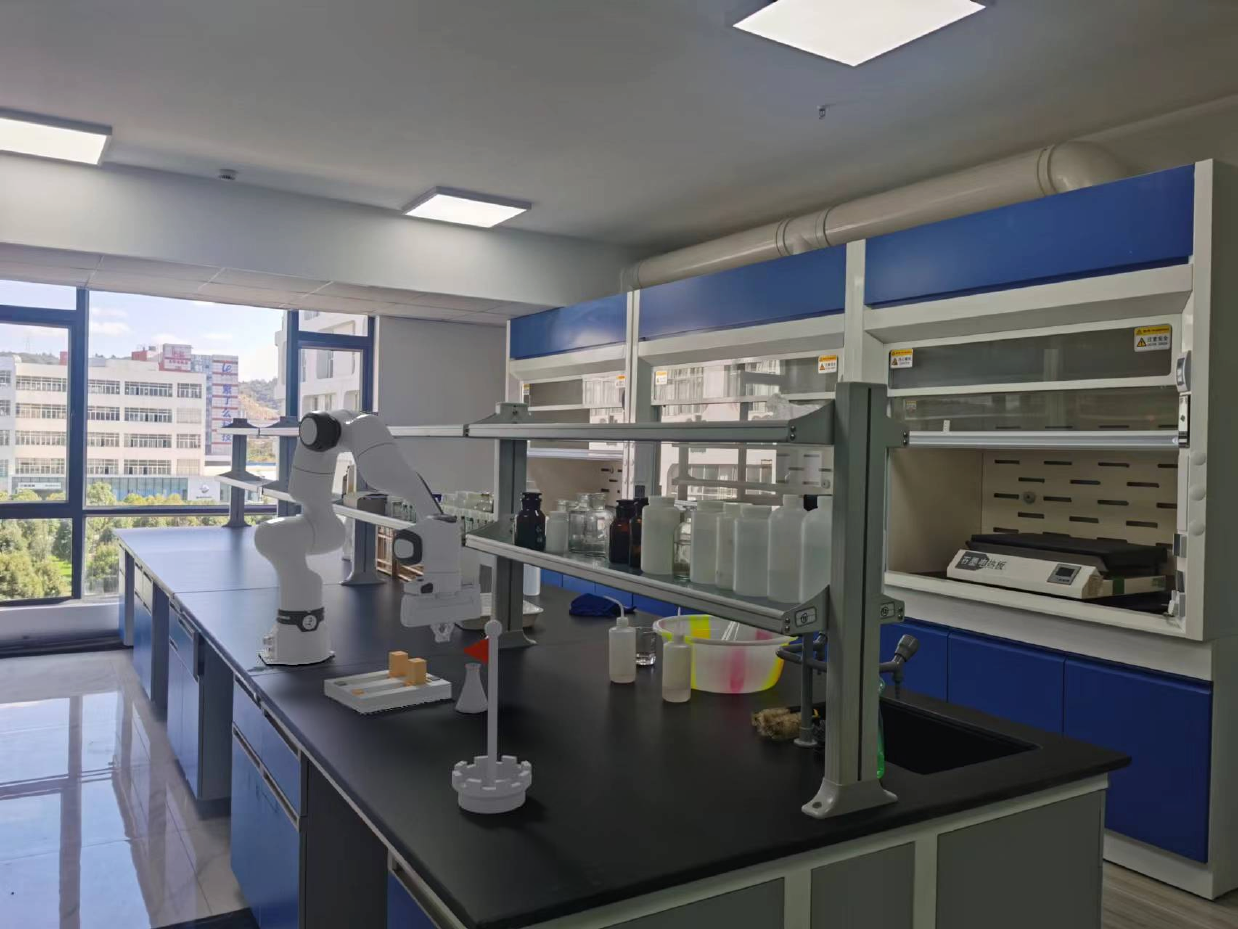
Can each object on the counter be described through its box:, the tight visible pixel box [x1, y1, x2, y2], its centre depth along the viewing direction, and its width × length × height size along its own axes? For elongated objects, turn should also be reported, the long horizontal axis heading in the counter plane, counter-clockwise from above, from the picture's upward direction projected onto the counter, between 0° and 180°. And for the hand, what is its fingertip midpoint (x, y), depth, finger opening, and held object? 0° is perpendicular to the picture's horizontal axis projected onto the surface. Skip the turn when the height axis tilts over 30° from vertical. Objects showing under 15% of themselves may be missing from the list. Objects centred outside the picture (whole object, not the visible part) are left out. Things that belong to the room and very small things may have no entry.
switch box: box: [323, 669, 452, 713], centre depth 215 cm, size 20×22×4 cm
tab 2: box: [405, 657, 427, 687], centre depth 214 cm, size 4×4×7 cm
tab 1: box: [387, 650, 409, 679], centre depth 221 cm, size 4×4×7 cm
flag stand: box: [451, 619, 532, 814], centre depth 153 cm, size 13×13×30 cm
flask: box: [454, 662, 488, 714], centre depth 205 cm, size 7×7×10 cm
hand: (442, 641), depth 218 cm, fingers closed
